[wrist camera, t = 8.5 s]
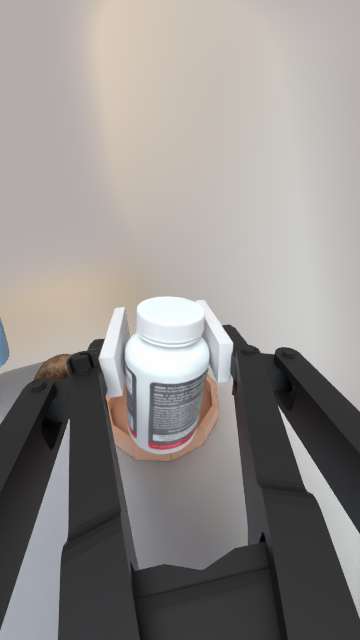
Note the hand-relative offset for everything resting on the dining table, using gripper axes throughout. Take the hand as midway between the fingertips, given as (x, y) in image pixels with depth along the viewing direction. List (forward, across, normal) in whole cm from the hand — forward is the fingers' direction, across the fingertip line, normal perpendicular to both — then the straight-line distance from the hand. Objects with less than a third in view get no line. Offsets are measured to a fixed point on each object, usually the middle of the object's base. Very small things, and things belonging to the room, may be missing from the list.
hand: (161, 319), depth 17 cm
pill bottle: (-4, -1, -7) cm, 8 cm away
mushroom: (+14, -18, -18) cm, 29 cm away
